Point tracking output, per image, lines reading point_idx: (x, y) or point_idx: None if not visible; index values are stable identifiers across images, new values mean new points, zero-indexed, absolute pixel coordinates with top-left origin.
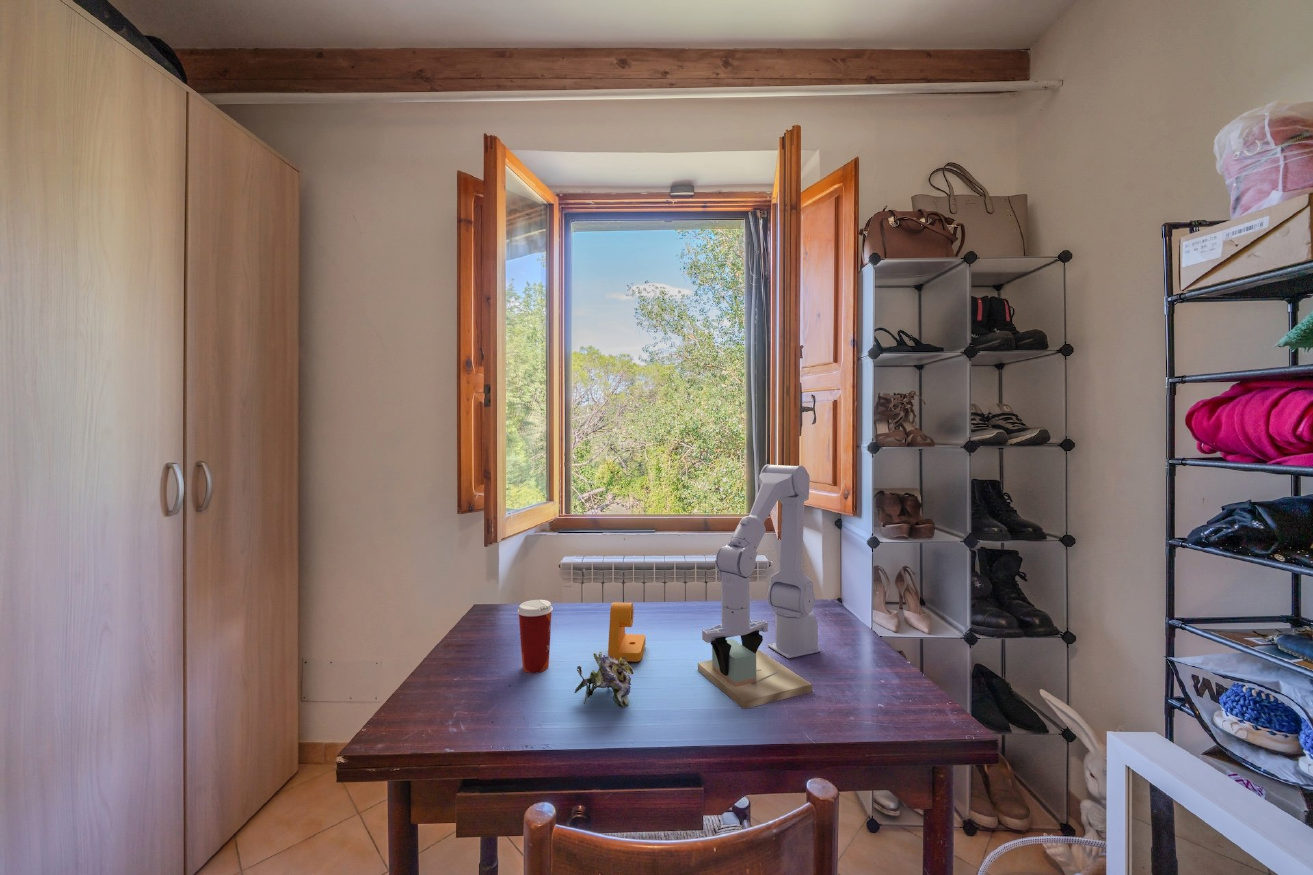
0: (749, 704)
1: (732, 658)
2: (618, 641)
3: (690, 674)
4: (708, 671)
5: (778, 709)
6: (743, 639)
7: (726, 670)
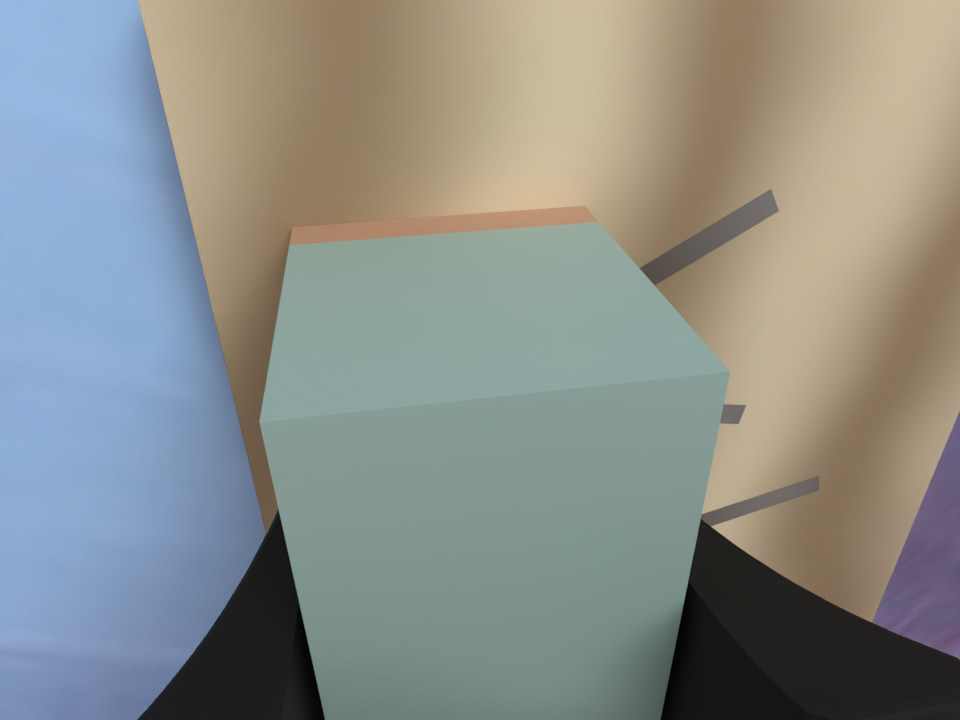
0: None
1: None
2: None
3: (17, 73)
4: (212, 289)
5: None
6: (733, 697)
7: None
